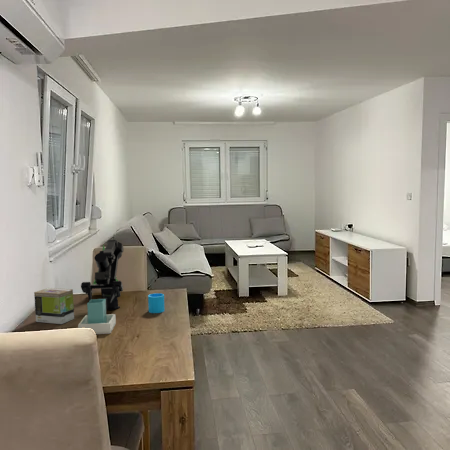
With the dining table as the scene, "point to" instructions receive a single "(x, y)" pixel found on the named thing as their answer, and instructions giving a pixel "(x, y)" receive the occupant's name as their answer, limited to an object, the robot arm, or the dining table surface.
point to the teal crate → (96, 311)
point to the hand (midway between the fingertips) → (100, 302)
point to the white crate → (100, 324)
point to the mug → (156, 303)
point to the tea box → (54, 305)
